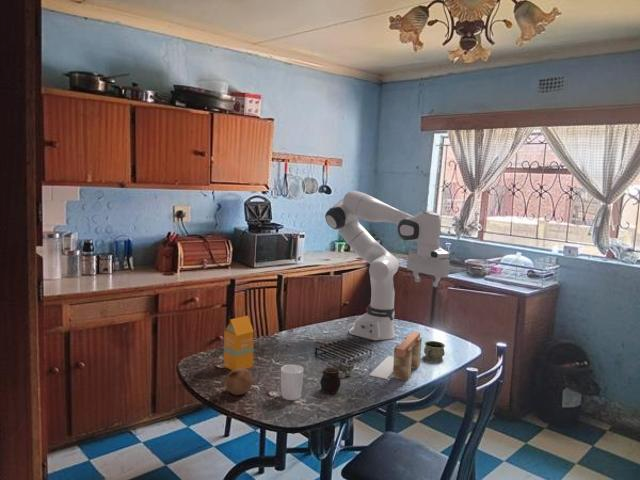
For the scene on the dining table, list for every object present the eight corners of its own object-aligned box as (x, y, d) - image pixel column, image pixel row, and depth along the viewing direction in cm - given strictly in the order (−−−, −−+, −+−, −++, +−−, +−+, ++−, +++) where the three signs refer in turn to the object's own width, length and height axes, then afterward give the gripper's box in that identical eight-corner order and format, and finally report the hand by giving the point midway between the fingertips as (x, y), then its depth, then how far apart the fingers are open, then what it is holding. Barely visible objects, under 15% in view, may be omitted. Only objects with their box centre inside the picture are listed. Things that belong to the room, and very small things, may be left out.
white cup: (279, 391, 182) (280, 364, 180) (302, 391, 182) (303, 364, 181) (280, 401, 174) (280, 373, 173) (303, 401, 175) (304, 373, 173)
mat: (369, 375, 198) (369, 374, 198) (388, 356, 220) (388, 355, 220) (386, 379, 196) (386, 378, 195) (404, 359, 217) (404, 358, 217)
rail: (395, 356, 193) (396, 348, 192) (412, 338, 214) (413, 331, 214) (403, 357, 192) (403, 349, 191) (419, 339, 213) (420, 332, 213)
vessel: (432, 352, 228) (433, 338, 227) (449, 357, 222) (451, 343, 221) (417, 358, 219) (418, 344, 218) (435, 364, 213) (436, 350, 212)
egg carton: (354, 376, 198) (355, 366, 198) (338, 380, 194) (339, 369, 194) (339, 366, 207) (340, 357, 207) (324, 369, 203) (324, 360, 203)
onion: (233, 405, 176) (224, 385, 171) (227, 387, 184) (219, 368, 179) (259, 393, 178) (251, 373, 173) (252, 376, 186) (244, 356, 181)
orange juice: (223, 366, 202) (224, 317, 200) (241, 360, 209) (242, 313, 206) (235, 372, 197) (236, 321, 194) (253, 366, 203) (254, 317, 201)
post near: (392, 377, 198) (394, 347, 196) (395, 374, 201) (397, 344, 200) (407, 380, 195) (409, 350, 193) (410, 377, 199) (412, 347, 197)
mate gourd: (316, 388, 185) (318, 361, 184) (335, 385, 188) (337, 359, 187) (324, 396, 179) (326, 369, 178) (344, 393, 182) (345, 366, 181)
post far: (403, 365, 210) (404, 337, 208) (405, 362, 214) (407, 335, 212) (417, 368, 208) (419, 340, 206) (419, 365, 211) (421, 337, 210)
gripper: (404, 248, 215) (402, 280, 217) (442, 255, 199) (440, 289, 201) (414, 247, 219) (412, 278, 221) (453, 254, 203) (450, 288, 205)
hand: (426, 284), depth 211 cm, fingers open, 8 cm apart
